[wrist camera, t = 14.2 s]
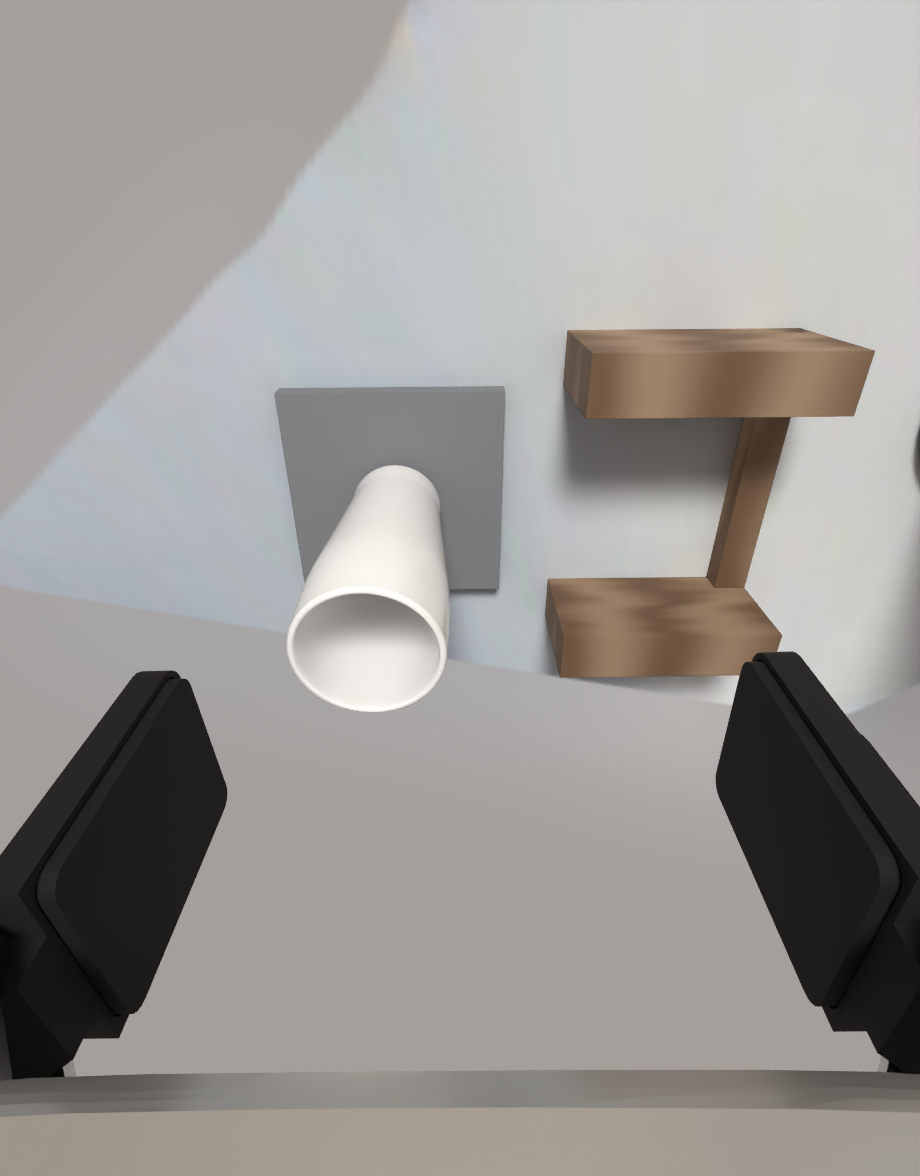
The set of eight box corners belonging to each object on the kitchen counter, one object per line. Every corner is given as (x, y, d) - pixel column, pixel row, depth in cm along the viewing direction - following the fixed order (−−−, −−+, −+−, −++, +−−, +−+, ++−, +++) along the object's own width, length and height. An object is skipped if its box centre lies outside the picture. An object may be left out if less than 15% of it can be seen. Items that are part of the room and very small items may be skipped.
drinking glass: (433, 562, 40) (421, 730, 27) (332, 532, 39) (270, 694, 26) (467, 469, 36) (471, 613, 24) (357, 434, 35) (300, 566, 23)
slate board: (503, 386, 35) (504, 391, 34) (497, 579, 42) (498, 588, 41) (279, 388, 35) (274, 393, 34) (309, 581, 42) (305, 590, 41)
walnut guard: (800, 328, 34) (875, 350, 28) (725, 612, 44) (769, 674, 38) (567, 330, 34) (592, 353, 28) (545, 615, 44) (560, 677, 38)
